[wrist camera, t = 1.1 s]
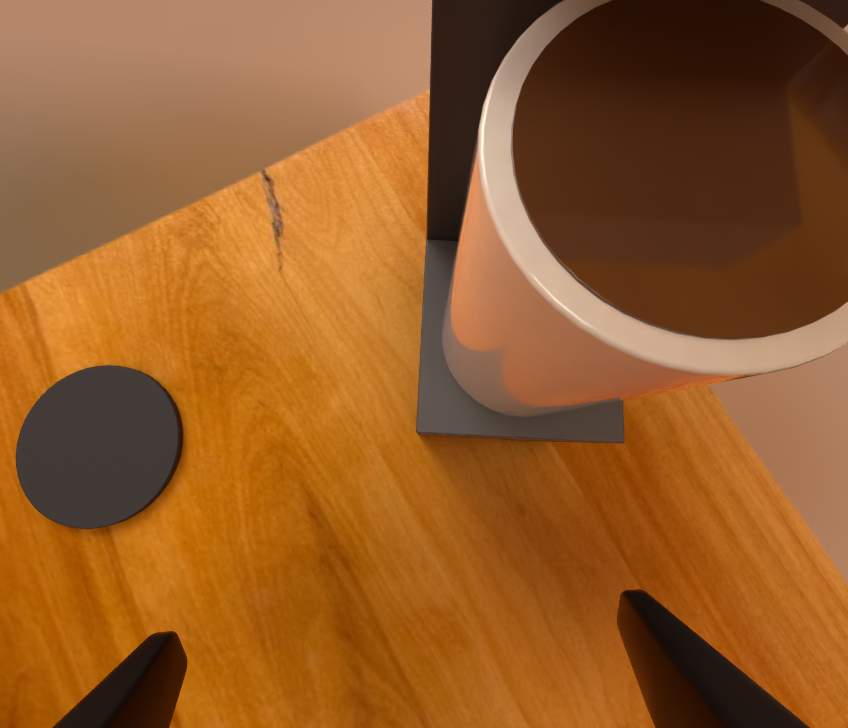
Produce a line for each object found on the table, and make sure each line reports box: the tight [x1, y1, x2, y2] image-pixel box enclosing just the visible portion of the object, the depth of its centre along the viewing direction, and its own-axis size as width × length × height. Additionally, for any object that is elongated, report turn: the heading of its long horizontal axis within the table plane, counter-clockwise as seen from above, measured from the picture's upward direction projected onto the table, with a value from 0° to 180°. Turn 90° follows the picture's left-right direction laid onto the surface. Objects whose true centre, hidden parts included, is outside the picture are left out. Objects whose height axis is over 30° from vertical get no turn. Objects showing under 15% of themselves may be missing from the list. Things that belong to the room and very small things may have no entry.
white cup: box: [441, 0, 848, 417], centre depth 10 cm, size 6×6×10 cm
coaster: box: [16, 365, 182, 529], centre depth 22 cm, size 8×8×1 cm
